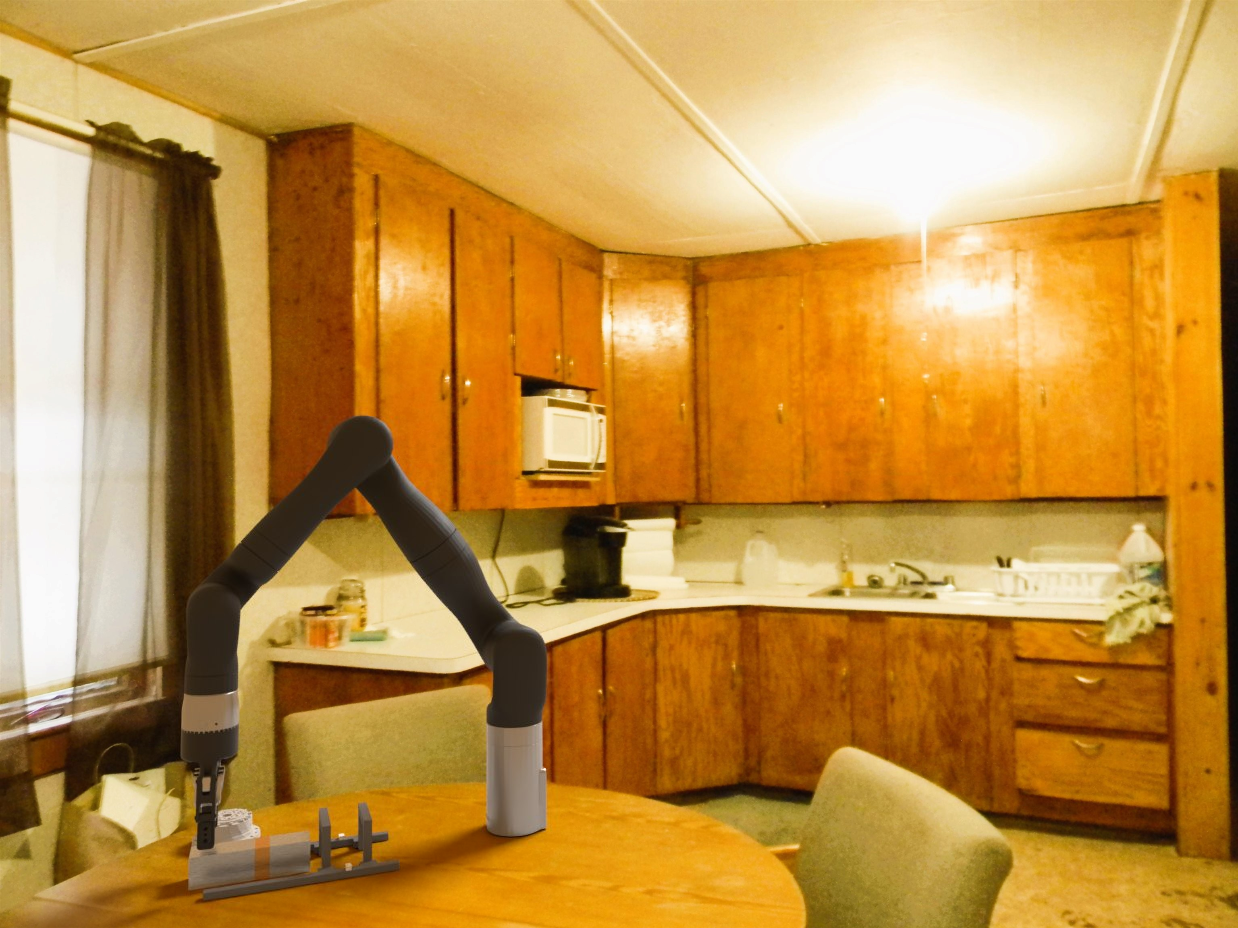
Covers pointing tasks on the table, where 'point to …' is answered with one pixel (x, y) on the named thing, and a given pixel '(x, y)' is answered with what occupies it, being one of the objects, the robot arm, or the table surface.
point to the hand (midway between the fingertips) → (207, 838)
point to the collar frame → (323, 859)
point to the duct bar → (249, 860)
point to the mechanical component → (233, 826)
